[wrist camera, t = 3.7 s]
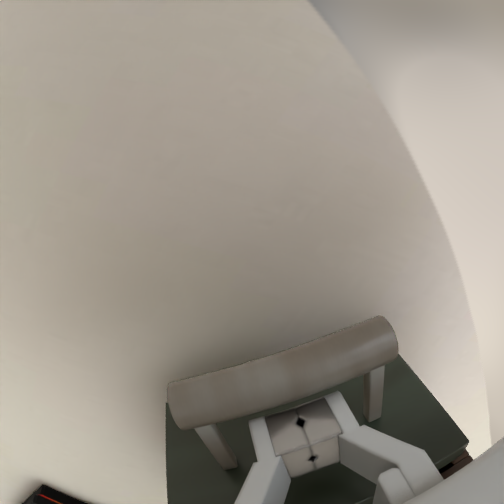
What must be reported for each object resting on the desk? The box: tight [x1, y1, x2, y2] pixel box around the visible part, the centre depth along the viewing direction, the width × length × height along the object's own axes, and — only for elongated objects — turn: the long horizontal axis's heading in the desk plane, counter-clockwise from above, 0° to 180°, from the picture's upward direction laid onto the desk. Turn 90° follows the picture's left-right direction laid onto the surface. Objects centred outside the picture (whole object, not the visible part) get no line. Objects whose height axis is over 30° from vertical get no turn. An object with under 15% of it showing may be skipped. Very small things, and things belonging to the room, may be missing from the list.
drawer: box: [166, 316, 469, 504], centre depth 13 cm, size 19×12×8 cm, turn 14°
